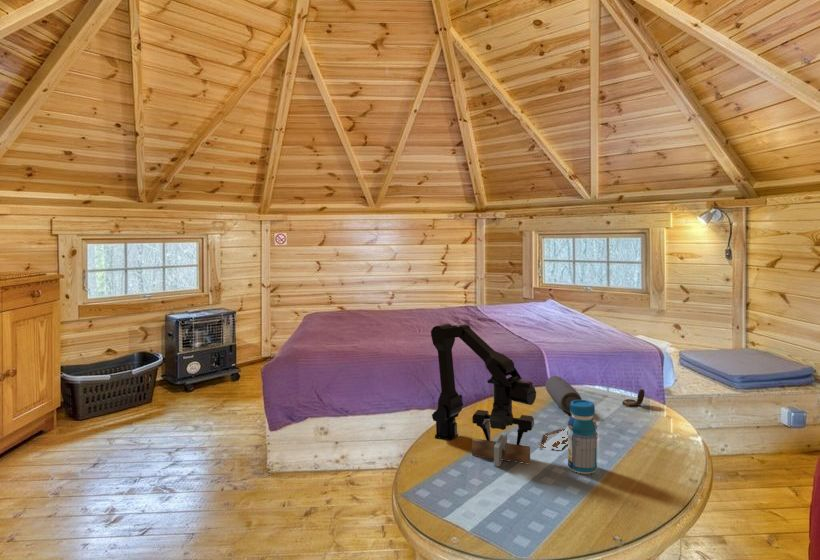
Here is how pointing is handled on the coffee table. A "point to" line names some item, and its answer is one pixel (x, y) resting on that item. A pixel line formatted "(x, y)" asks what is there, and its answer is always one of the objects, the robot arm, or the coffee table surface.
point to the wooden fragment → (555, 442)
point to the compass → (632, 402)
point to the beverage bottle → (582, 437)
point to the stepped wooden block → (510, 453)
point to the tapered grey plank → (499, 448)
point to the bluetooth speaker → (561, 392)
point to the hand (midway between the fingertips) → (503, 445)
